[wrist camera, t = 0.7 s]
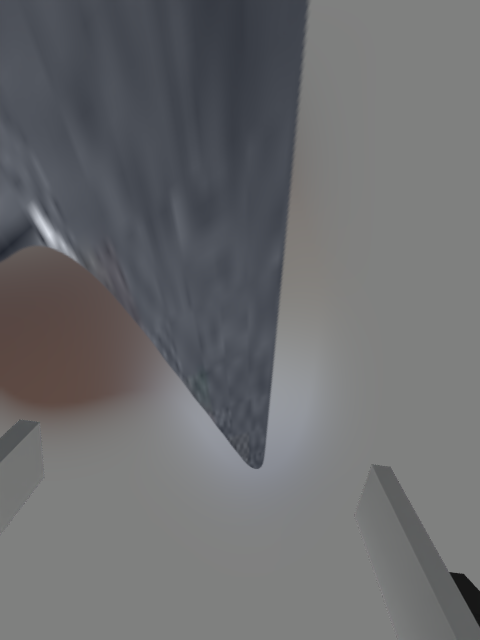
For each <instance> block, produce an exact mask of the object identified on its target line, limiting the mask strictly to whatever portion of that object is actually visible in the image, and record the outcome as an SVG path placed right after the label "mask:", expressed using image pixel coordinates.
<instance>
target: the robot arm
mask: <svg viewBox="0 0 480 640" xmlns="http://www.w3.org/2000/svg"><path fill="white" fill-rule="evenodd" d="M43 478H44V466H43V454H42V442H41V430H40V422H35V421H27V420H19V421H18V422H17V423H16V424H15V425H14V426H12V428H10V429H9V430H8V431H7V432H6V433H5V434H4V435H3V436H2V437H1V438H0V535H1V534H2V532H3V531H4V530H5V528H6V527H7V526H8V525H9V523H10V522H11V521H12V519H13V518H14V516H15V515H16V514H17V513H18V511H19V510H20V509H21V507H22V506H23V505H24V503H25V502H26V501H27V499H28V498H29V497H30V495H31V494H32V493H33V491H34V490H35V489H36V488H37V486H38V485H39V484H40V482H41V481H42V479H43ZM354 517H355V520H356V522H357V525H358V528H359V531H360V534H361V537H362V539H363V542H364V545H365V548H366V551H367V554H368V557H369V560H370V563H371V565H372V568H373V571H374V574H375V577H376V579H377V583H378V585H379V588H380V591H381V594H382V597H383V600H384V603H385V606H386V608H387V611H388V614H389V617H390V620H391V622H392V626H393V628H394V631H395V634H396V637H397V640H480V591H479V590H478V589H477V588H476V587H475V586H474V585H473V583H472V582H471V581H470V580H469V579H468V578H467V577H466V576H465V575H464V574H460V573H452V572H448V569H447V568H446V566H445V564H444V562H443V560H442V559H441V557H440V556H439V553H438V551H437V550H436V548H435V547H434V544H433V543H432V541H431V539H430V537H429V535H428V534H427V532H426V530H425V528H424V527H423V525H422V523H421V521H420V519H419V517H418V516H417V514H416V512H415V510H414V508H413V507H412V505H411V503H410V501H409V500H408V498H407V496H406V494H405V492H404V490H403V489H402V487H401V485H400V483H399V481H398V480H397V478H396V476H395V474H394V472H393V471H392V469H391V467H388V466H380V465H371V467H370V471H369V473H368V476H367V479H366V482H365V485H364V488H363V491H362V493H361V497H360V500H359V502H358V505H357V508H356V511H355V514H354Z"/></svg>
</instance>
